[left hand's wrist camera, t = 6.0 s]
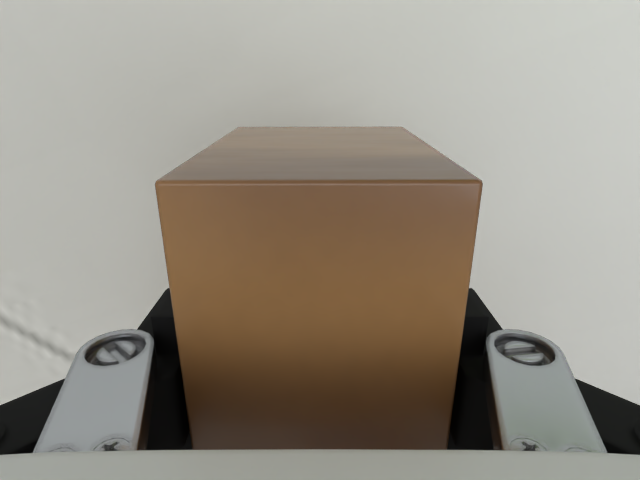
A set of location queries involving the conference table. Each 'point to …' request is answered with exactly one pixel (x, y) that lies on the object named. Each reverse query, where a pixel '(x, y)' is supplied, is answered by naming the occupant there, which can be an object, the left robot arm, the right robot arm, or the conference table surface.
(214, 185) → the bar
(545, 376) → the left robot arm
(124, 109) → the conference table surface
